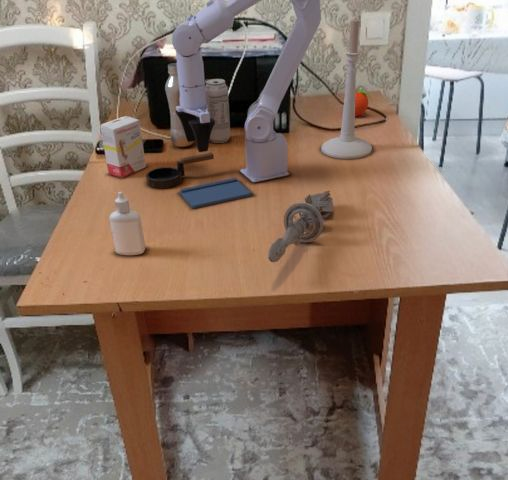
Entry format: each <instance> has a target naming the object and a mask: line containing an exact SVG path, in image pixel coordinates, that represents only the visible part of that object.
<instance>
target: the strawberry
mask: <svg viewBox="0 0 508 480" xmlns="http://www.w3.org/2000/svg"><path fill="white" fill-rule="evenodd" d="M368 97H369V98H370V99H371V101H373V100H372V96H371V95H370V94H369V92H366V91H363V90H359V89H355V117H358V116H362V115H363V114H364V113H365V112H366V111H367V109H368V107H369V98H368Z"/></svg>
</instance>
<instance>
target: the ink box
mask: <svg viewBox="0 0 508 480" xmlns="http://www.w3.org/2000/svg"><path fill="white" fill-rule="evenodd" d="M140 123H141V122H140V119H137V118H134V117H132V116H131V117H130V116H128V115H124V116H121V117H117V118H116V119H112V120H109V121H107V122H103V123H101V125H100V132H101V138H102V139H101V140H102V143H103V150H104V155H105V161H106V167H107V172H108V175H111V176H115V177H118V178H122V179H123V178H126V177H128V176H130V175H132V174H134V173H137V172H139V171H140V170H143V169H145V168H146V167H147V163H146V157H145V150H144V143H143V136H142V130H141V124H140Z"/></svg>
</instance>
